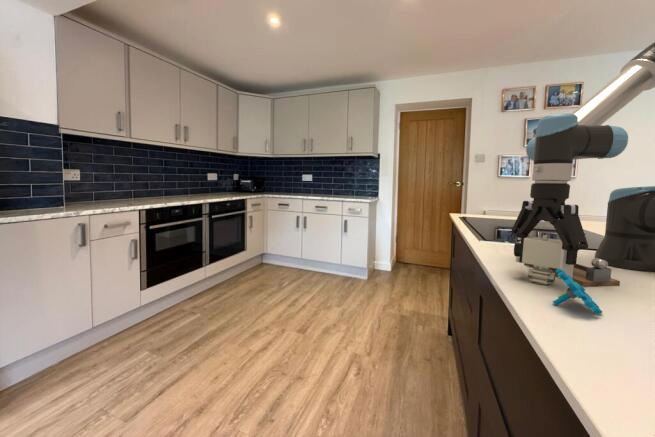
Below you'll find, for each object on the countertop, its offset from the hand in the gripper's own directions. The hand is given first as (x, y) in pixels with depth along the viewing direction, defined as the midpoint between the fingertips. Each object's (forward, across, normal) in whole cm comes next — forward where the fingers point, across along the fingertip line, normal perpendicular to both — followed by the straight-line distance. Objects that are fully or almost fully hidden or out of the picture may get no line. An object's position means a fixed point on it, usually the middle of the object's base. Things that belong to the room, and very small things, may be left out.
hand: (541, 269), depth 75 cm
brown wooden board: (+3, -6, +12) cm, 14 cm away
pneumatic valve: (+4, 0, 0) cm, 4 cm away
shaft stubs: (+2, -5, +12) cm, 14 cm away
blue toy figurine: (+4, +15, -5) cm, 16 cm away
